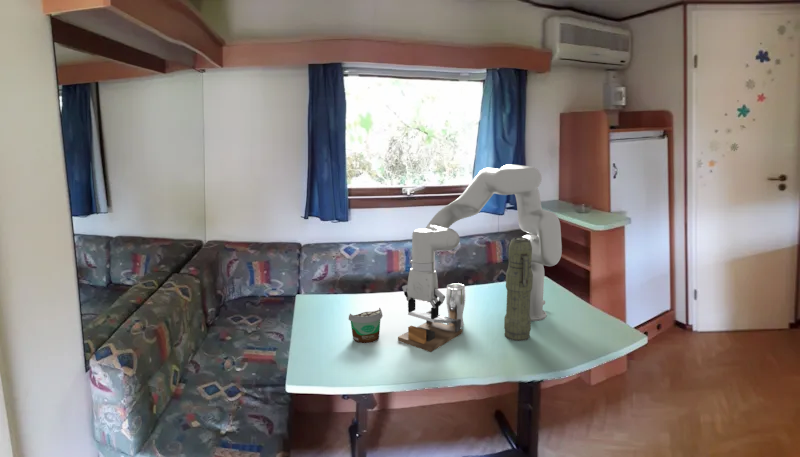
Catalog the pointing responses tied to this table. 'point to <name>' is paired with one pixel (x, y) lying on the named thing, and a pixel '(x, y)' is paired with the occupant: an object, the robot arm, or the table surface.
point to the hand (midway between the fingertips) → (422, 314)
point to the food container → (366, 326)
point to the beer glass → (455, 302)
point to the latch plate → (439, 336)
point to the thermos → (518, 290)
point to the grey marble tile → (428, 317)
